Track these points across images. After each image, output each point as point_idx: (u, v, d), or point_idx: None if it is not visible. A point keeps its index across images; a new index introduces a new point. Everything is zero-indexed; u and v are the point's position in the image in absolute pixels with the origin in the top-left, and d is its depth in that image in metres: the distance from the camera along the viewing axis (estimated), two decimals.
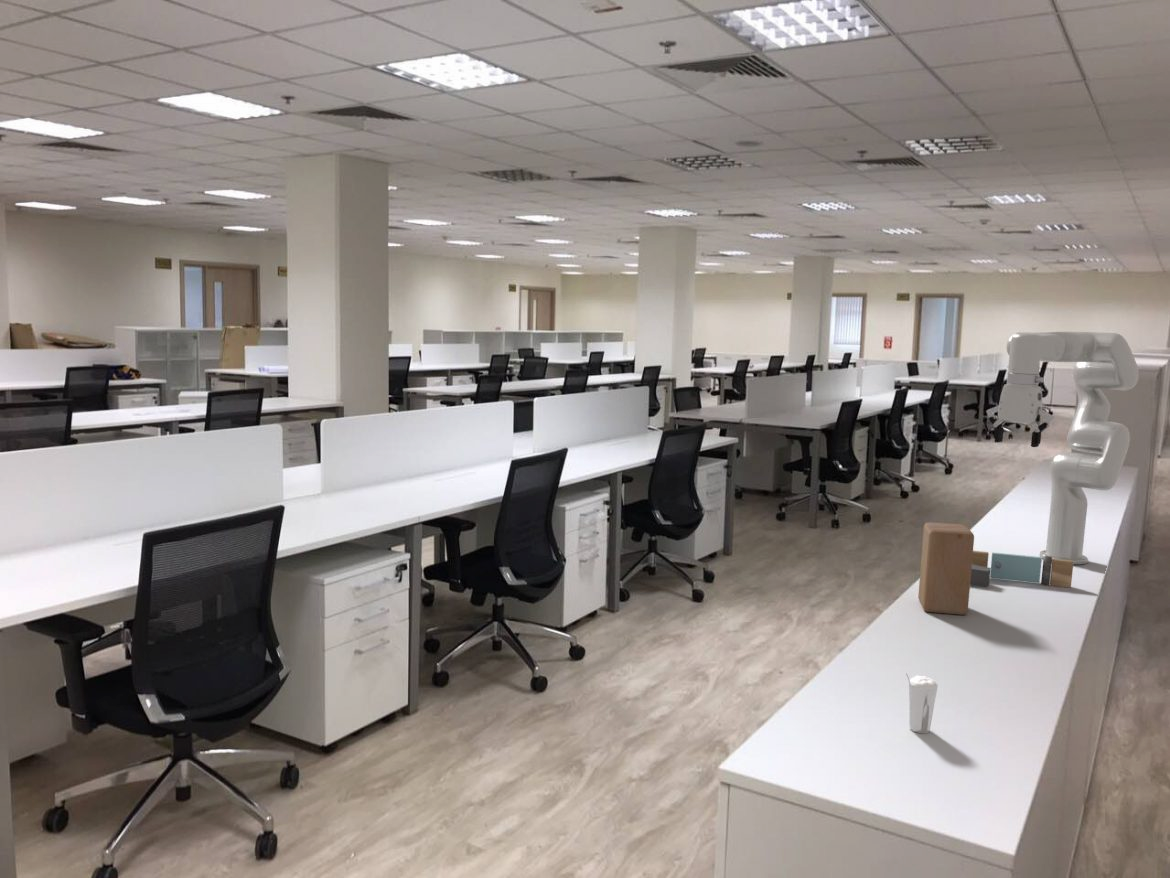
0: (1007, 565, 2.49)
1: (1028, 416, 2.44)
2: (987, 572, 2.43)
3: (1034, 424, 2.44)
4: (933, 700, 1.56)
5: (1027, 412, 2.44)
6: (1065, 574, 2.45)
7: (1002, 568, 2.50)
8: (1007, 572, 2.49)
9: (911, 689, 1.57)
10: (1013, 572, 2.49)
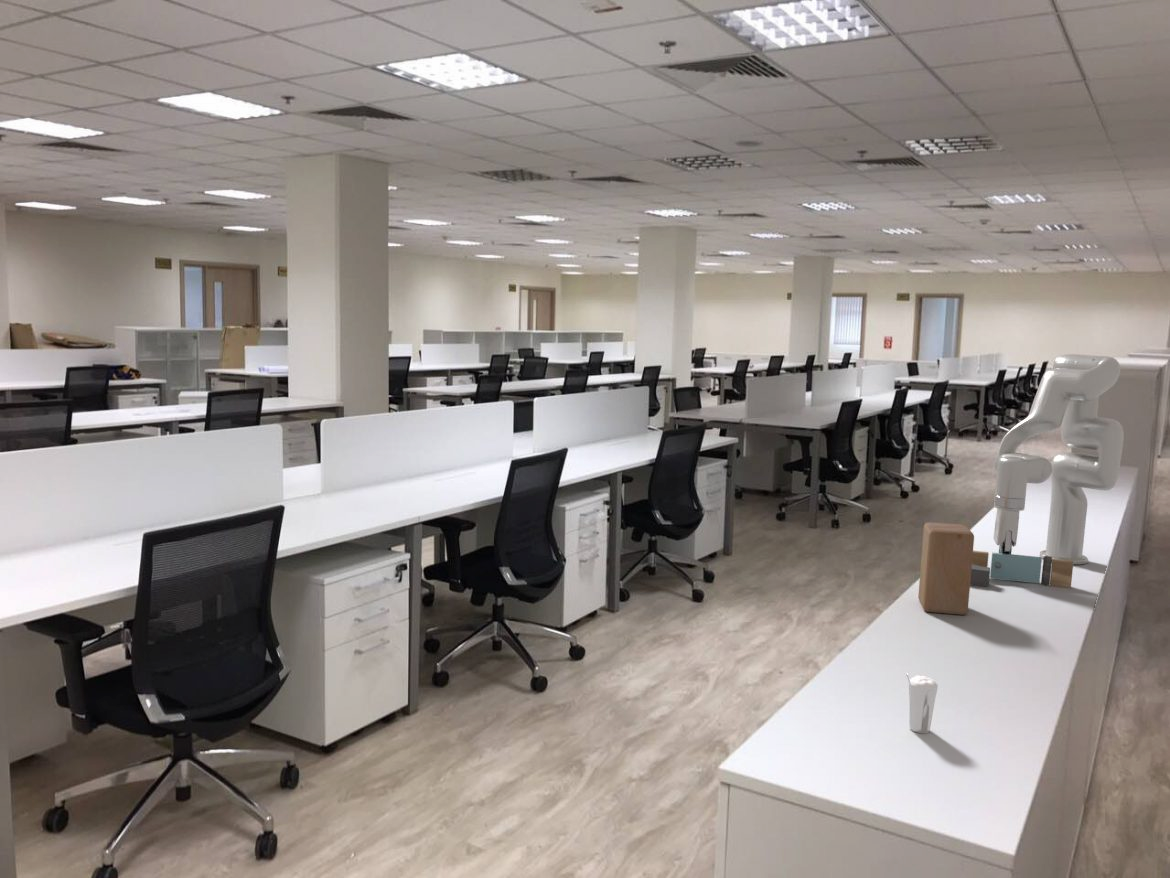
0: (1007, 565, 2.49)
1: None
2: (987, 572, 2.43)
3: None
4: (933, 700, 1.56)
5: None
6: (1065, 574, 2.45)
7: (1002, 568, 2.50)
8: (1007, 572, 2.49)
9: (911, 689, 1.57)
10: (1013, 572, 2.49)
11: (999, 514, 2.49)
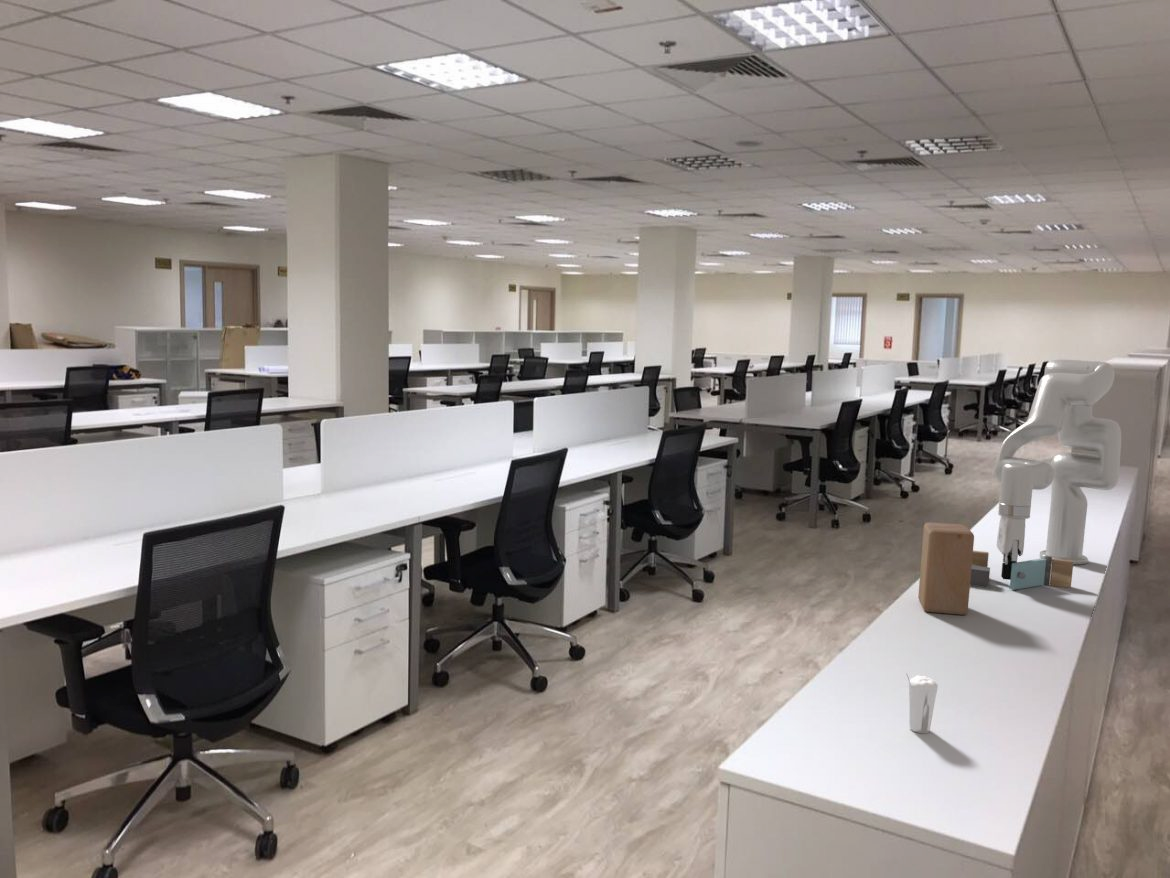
0: (1025, 573, 2.42)
1: None
2: (988, 572, 2.43)
3: None
4: (933, 700, 1.56)
5: None
6: (1065, 574, 2.45)
7: (1021, 577, 2.41)
8: (1024, 580, 2.42)
9: (911, 689, 1.57)
10: (1028, 579, 2.43)
11: (1005, 522, 2.40)
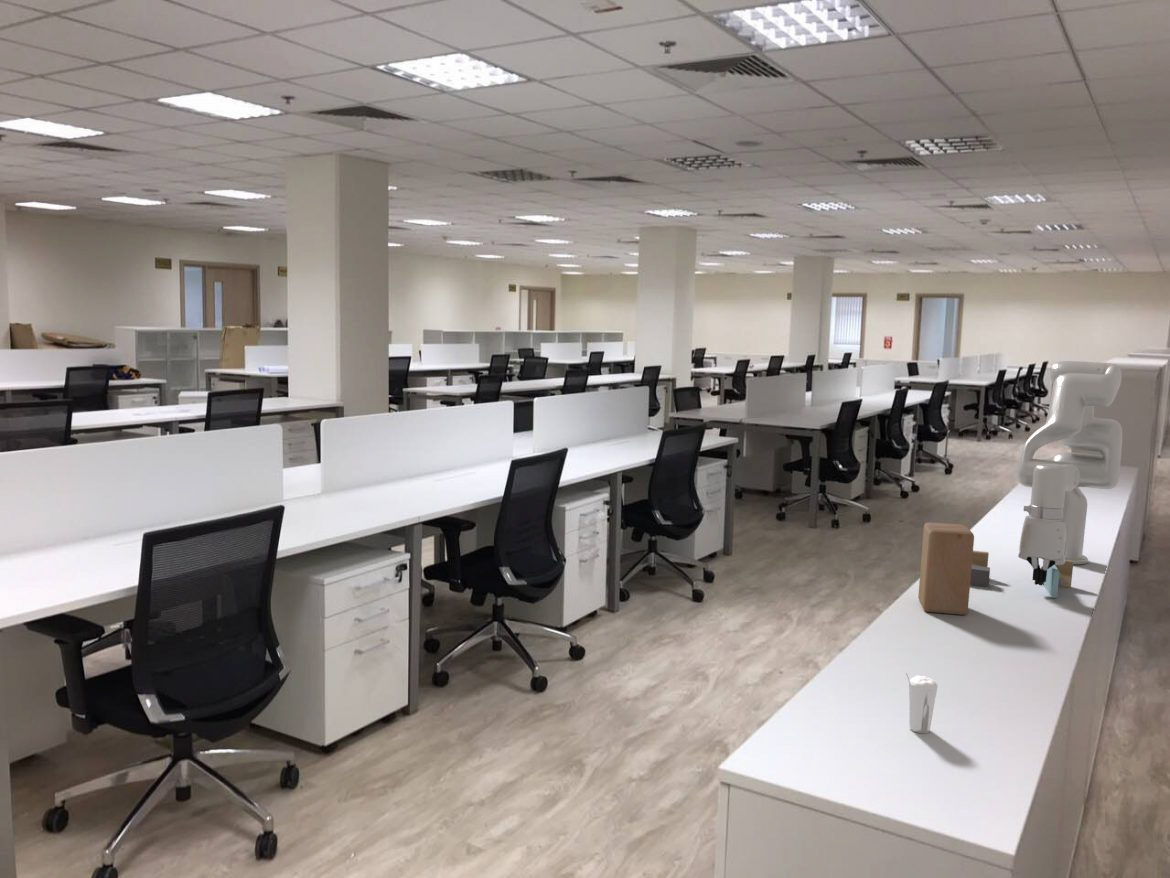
0: None
1: None
2: (988, 572, 2.43)
3: None
4: (933, 700, 1.56)
5: None
6: (1065, 574, 2.45)
7: None
8: None
9: (911, 689, 1.57)
10: None
11: (1057, 527, 2.32)
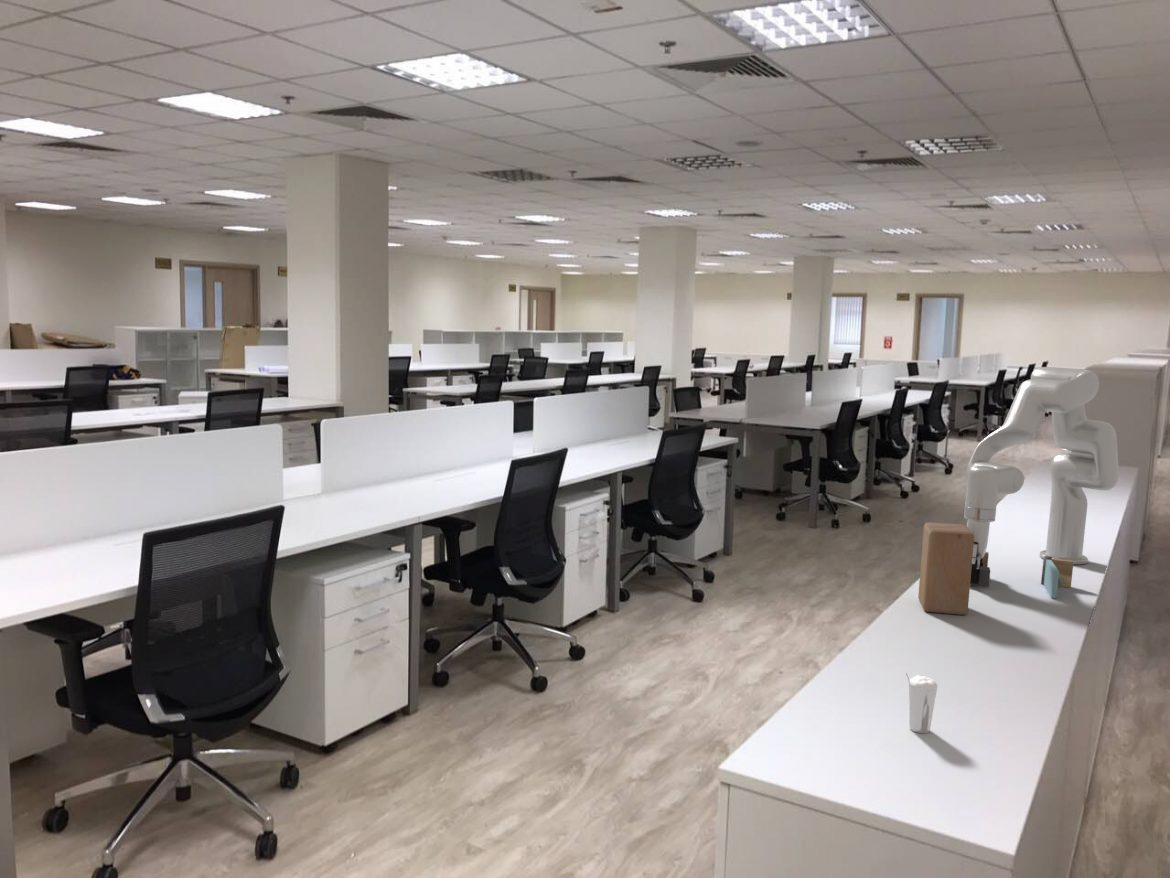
0: None
1: None
2: (988, 572, 2.43)
3: None
4: (933, 700, 1.56)
5: None
6: (1065, 574, 2.45)
7: None
8: None
9: (911, 689, 1.57)
10: None
11: (967, 524, 2.42)
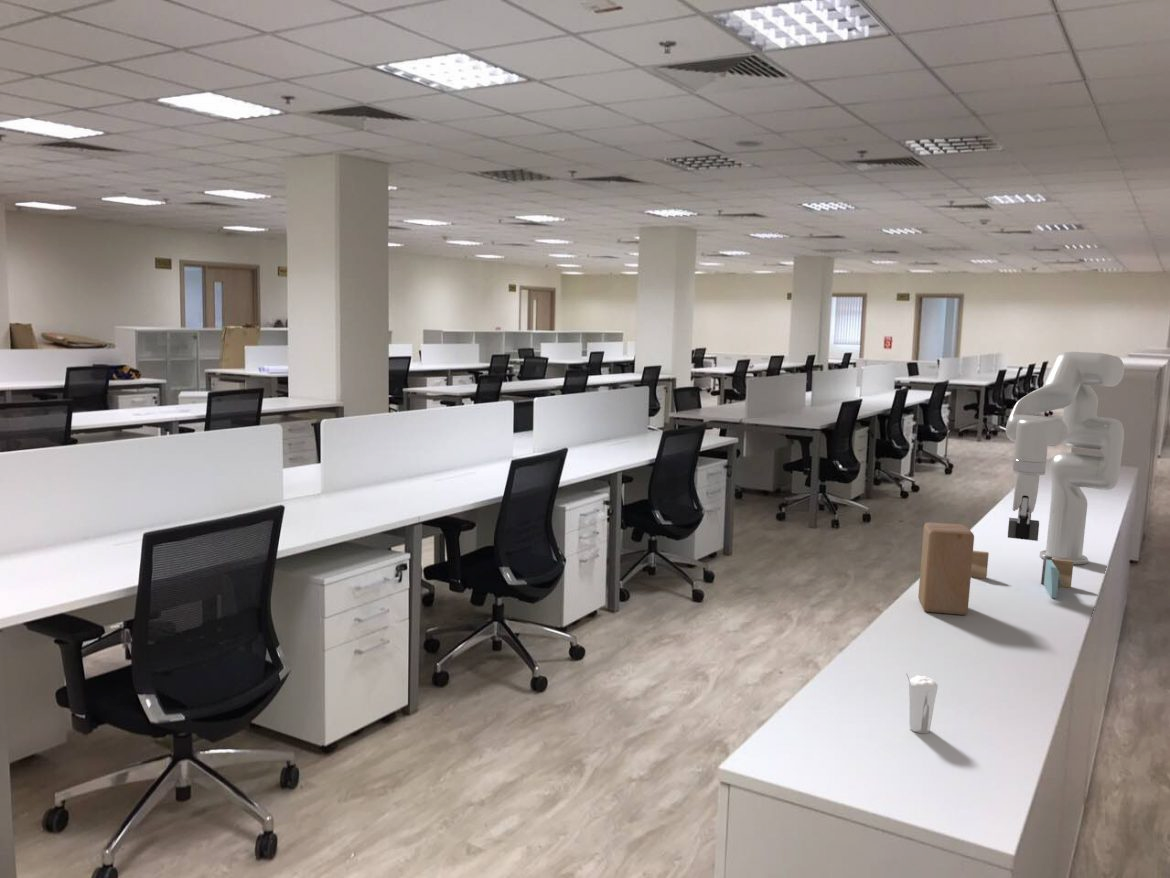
0: None
1: None
2: (1037, 524, 2.38)
3: None
4: (933, 700, 1.56)
5: None
6: (1065, 574, 2.45)
7: None
8: None
9: (911, 689, 1.57)
10: None
11: (1016, 478, 2.38)
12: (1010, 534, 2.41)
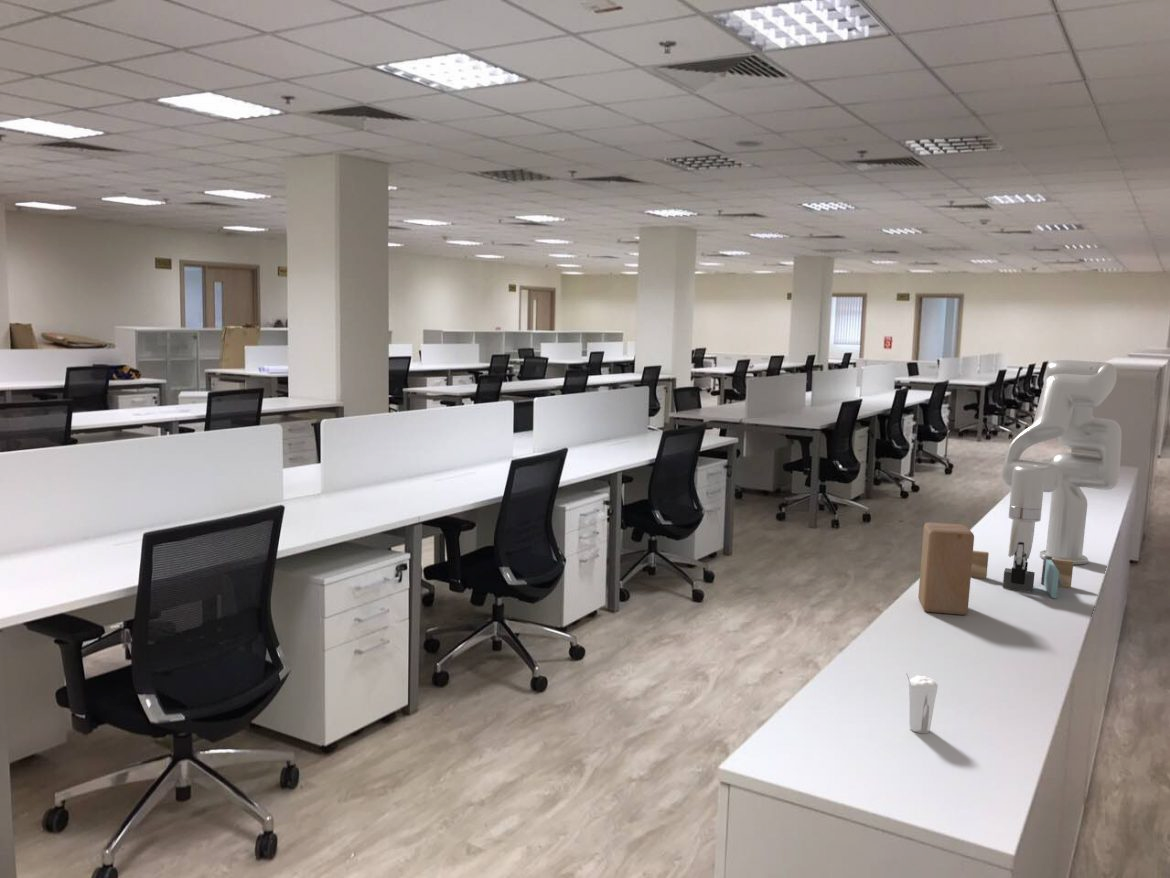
0: None
1: None
2: (1032, 576, 2.40)
3: None
4: (933, 700, 1.56)
5: None
6: (1065, 574, 2.45)
7: None
8: None
9: (911, 689, 1.57)
10: None
11: (1012, 525, 2.39)
12: (1005, 585, 2.43)
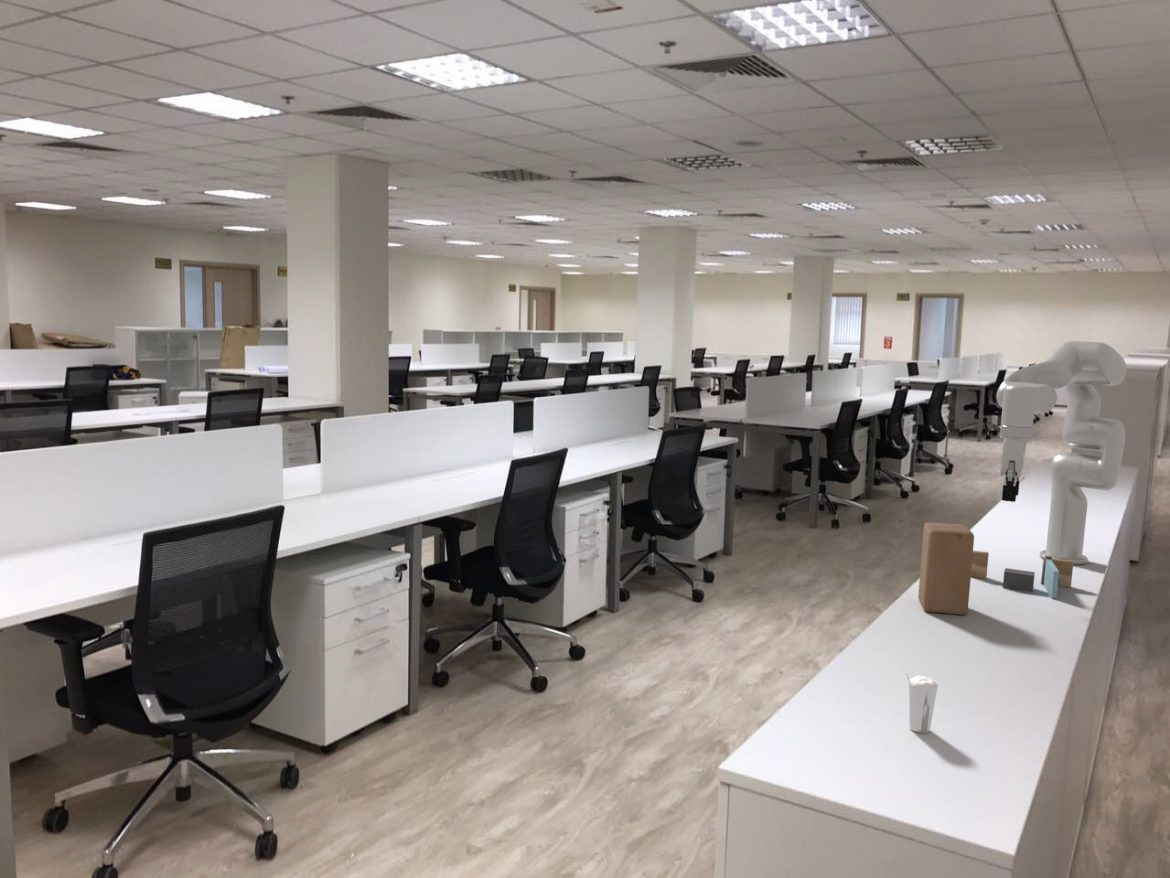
0: None
1: None
2: (1032, 576, 2.40)
3: None
4: (933, 700, 1.56)
5: None
6: (1065, 574, 2.45)
7: None
8: None
9: (911, 689, 1.57)
10: None
11: (1003, 444, 2.39)
12: (1005, 585, 2.43)
